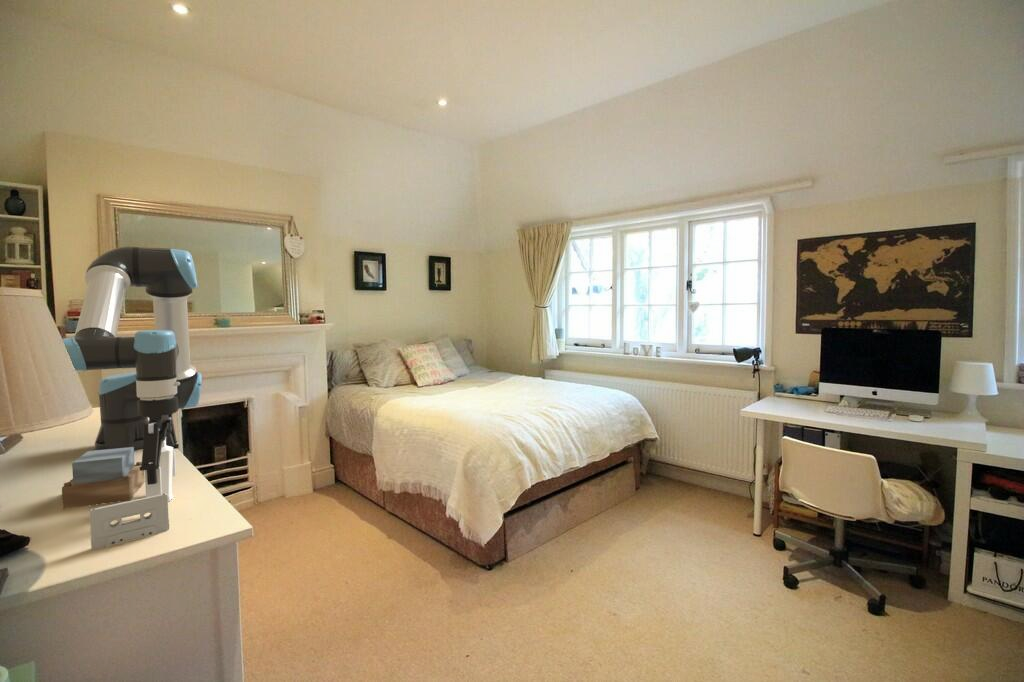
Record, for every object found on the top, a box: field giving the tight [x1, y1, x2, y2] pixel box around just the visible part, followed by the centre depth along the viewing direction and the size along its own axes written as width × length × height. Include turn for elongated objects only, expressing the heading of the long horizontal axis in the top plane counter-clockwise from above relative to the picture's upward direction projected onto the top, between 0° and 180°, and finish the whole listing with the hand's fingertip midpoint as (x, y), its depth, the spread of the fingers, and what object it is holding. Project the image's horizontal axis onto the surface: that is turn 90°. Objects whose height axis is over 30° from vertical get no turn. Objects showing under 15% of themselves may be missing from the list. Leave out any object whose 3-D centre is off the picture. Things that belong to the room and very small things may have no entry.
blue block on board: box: [61, 447, 145, 510], centre depth 113 cm, size 12×12×10 cm
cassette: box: [89, 493, 170, 550], centre depth 93 cm, size 12×2×8 cm, turn 132°
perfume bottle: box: [151, 438, 174, 502], centre depth 110 cm, size 5×4×15 cm
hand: (162, 486), depth 110 cm, fingers open, 13 cm apart
